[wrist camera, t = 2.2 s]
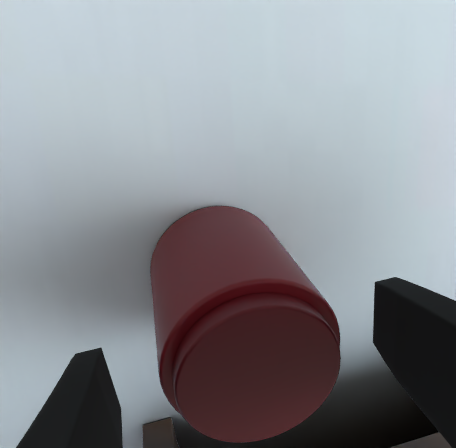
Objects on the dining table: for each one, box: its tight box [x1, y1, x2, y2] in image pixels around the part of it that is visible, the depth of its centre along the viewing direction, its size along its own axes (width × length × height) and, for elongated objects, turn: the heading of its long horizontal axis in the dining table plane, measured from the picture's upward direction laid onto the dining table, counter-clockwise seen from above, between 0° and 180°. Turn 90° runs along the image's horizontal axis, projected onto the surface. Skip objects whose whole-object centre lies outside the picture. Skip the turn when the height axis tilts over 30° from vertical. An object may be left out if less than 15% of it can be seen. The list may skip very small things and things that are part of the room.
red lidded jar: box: [150, 206, 341, 443], centre depth 12 cm, size 5×5×6 cm
